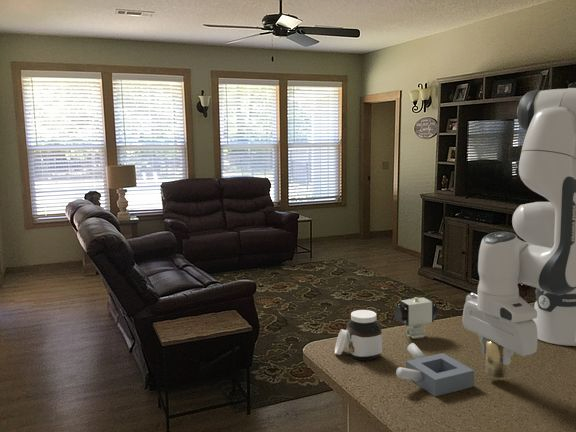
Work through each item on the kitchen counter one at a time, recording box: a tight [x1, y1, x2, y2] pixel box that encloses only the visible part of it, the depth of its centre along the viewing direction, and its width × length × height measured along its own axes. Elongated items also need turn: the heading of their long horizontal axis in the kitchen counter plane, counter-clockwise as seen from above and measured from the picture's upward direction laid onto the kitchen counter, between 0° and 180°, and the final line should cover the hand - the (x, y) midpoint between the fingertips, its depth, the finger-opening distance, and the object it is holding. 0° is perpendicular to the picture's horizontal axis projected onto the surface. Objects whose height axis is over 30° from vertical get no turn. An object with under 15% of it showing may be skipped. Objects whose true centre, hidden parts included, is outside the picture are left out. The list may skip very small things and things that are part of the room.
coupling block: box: [395, 342, 475, 397], centre depth 122 cm, size 17×17×6 cm
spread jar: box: [334, 309, 383, 361], centre depth 136 cm, size 12×11×12 cm
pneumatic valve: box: [394, 296, 439, 340], centre depth 148 cm, size 6×12×12 cm, turn 106°
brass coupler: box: [485, 339, 507, 379], centre depth 119 cm, size 4×4×8 cm
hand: (496, 358), depth 119 cm, fingers closed on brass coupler, 4 cm apart
